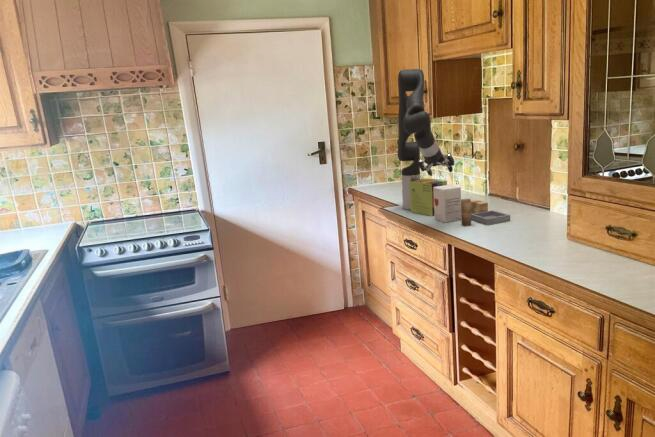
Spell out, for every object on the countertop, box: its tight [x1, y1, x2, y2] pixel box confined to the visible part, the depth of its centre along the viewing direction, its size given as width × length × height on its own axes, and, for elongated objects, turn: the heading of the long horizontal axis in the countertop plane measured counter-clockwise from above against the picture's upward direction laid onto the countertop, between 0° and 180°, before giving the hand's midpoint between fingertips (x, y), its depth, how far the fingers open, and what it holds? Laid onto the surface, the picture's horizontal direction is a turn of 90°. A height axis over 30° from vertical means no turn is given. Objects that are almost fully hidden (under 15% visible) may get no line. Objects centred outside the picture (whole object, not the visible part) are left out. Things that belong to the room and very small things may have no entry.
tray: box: [471, 209, 511, 226], centre depth 226 cm, size 12×12×3 cm
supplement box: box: [433, 184, 462, 223], centre depth 233 cm, size 9×9×15 cm
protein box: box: [409, 177, 448, 217], centre depth 249 cm, size 10×15×16 cm
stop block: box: [471, 198, 489, 214], centre depth 238 cm, size 10×4×6 cm, turn 19°
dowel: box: [461, 198, 472, 227], centre depth 221 cm, size 4×4×11 cm
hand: (441, 172), depth 225 cm, fingers open, 8 cm apart
